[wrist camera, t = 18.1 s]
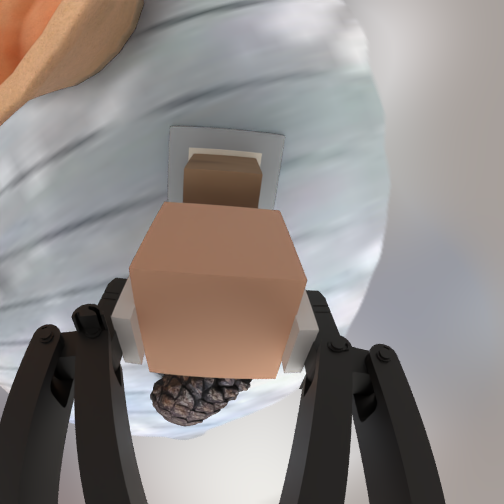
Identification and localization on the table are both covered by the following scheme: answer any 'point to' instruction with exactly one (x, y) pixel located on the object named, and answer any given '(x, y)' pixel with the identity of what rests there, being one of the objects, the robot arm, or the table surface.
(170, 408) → the pine cone
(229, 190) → the walnut cube
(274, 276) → the terracotta cube
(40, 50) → the pottery
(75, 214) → the table surface
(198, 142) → the pad
